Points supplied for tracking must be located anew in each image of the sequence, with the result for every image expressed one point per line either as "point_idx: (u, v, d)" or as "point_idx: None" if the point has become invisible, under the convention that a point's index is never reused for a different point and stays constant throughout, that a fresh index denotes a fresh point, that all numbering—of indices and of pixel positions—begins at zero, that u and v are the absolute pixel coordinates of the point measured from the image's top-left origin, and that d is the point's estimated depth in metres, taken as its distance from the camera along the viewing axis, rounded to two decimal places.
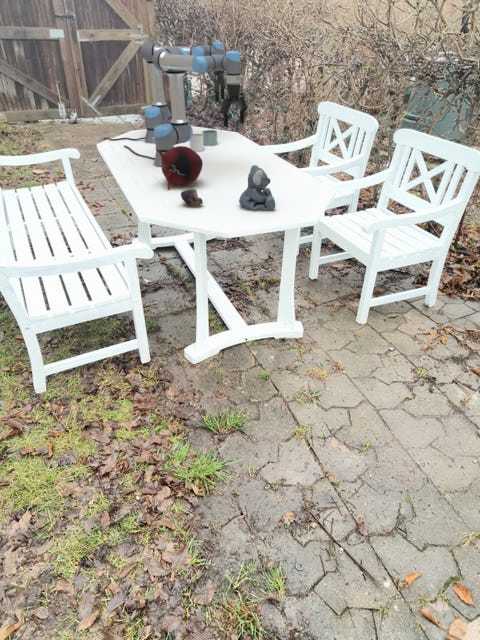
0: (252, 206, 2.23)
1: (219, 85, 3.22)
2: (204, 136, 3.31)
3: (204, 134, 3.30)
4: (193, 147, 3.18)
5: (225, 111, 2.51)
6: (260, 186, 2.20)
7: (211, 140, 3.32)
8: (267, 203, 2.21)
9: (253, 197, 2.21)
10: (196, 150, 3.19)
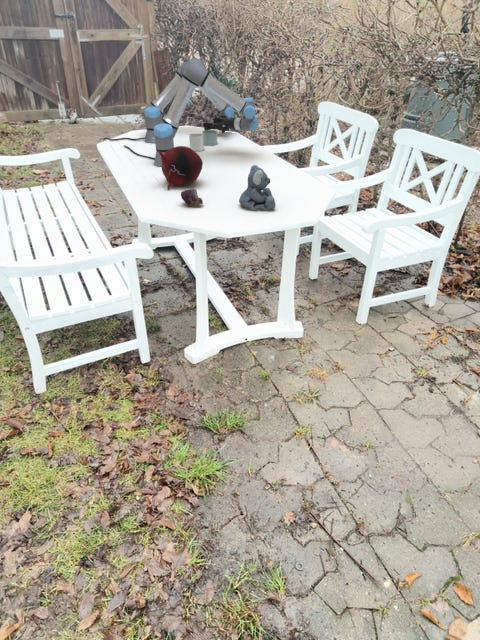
0: (252, 206, 2.23)
1: None
2: (204, 136, 3.31)
3: (204, 134, 3.30)
4: (193, 147, 3.18)
5: None
6: (260, 186, 2.20)
7: (211, 140, 3.32)
8: (267, 203, 2.21)
9: (253, 197, 2.21)
10: (196, 150, 3.19)
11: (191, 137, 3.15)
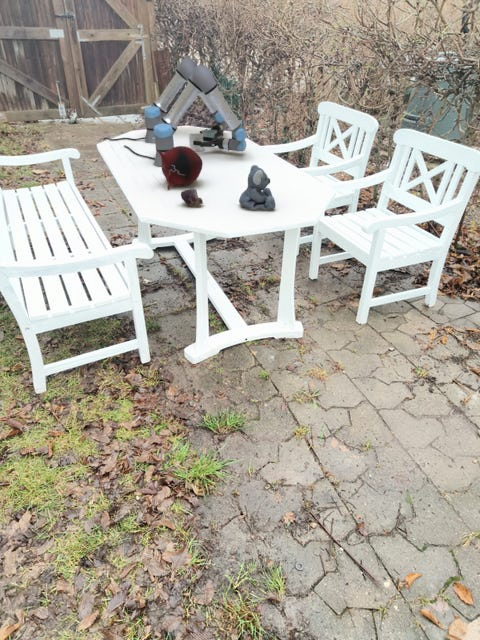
0: (252, 206, 2.23)
1: None
2: (204, 136, 3.31)
3: (204, 134, 3.30)
4: (193, 147, 3.18)
5: None
6: (260, 186, 2.20)
7: None
8: (267, 203, 2.21)
9: (253, 197, 2.21)
10: (196, 150, 3.19)
11: (191, 137, 3.15)
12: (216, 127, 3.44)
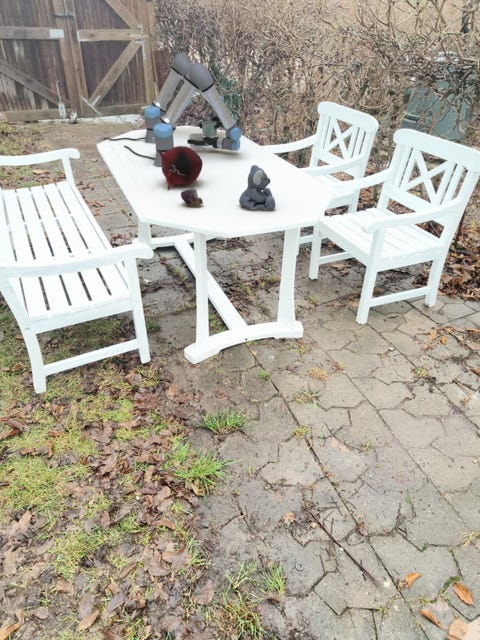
0: (252, 206, 2.23)
1: None
2: (204, 127, 3.28)
3: (204, 125, 3.27)
4: (193, 147, 3.18)
5: None
6: (260, 186, 2.20)
7: (211, 131, 3.28)
8: (267, 203, 2.21)
9: (253, 197, 2.21)
10: (196, 150, 3.19)
11: (191, 137, 3.15)
12: (216, 118, 3.41)
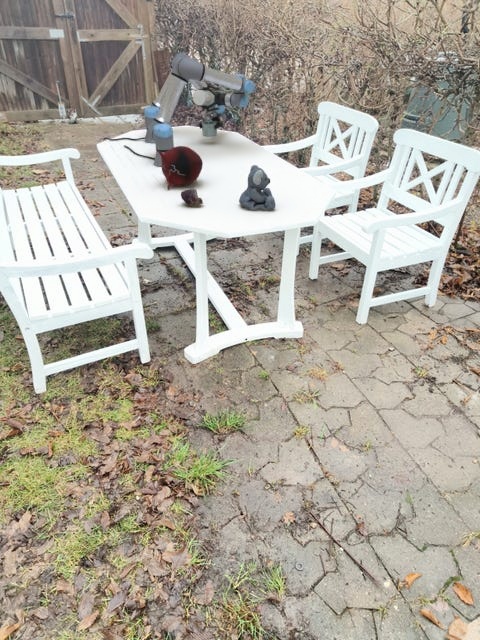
0: (252, 206, 2.23)
1: None
2: (204, 127, 3.28)
3: (204, 125, 3.27)
4: (201, 90, 3.10)
5: None
6: (260, 186, 2.20)
7: (211, 131, 3.28)
8: (267, 203, 2.21)
9: (253, 197, 2.21)
10: (202, 90, 3.08)
11: None
12: (216, 118, 3.41)
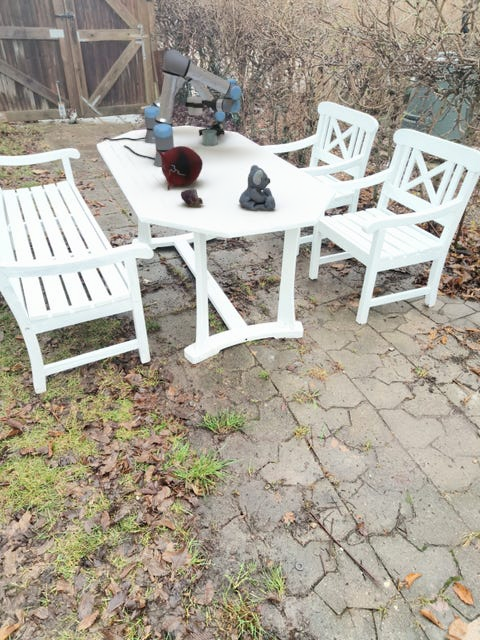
0: (252, 206, 2.23)
1: None
2: (204, 136, 3.31)
3: (204, 134, 3.30)
4: (191, 110, 3.05)
5: None
6: (260, 186, 2.20)
7: (211, 140, 3.32)
8: (267, 203, 2.21)
9: (253, 197, 2.21)
10: (195, 114, 3.06)
11: (189, 100, 3.02)
12: (216, 126, 3.44)
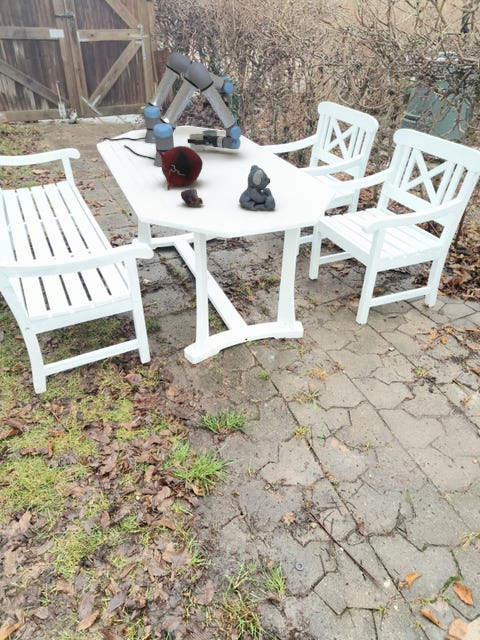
0: (252, 206, 2.23)
1: None
2: None
3: (204, 134, 3.30)
4: (193, 147, 3.18)
5: None
6: (260, 186, 2.20)
7: None
8: (267, 203, 2.21)
9: (253, 197, 2.21)
10: (196, 150, 3.19)
11: (191, 137, 3.15)
12: None
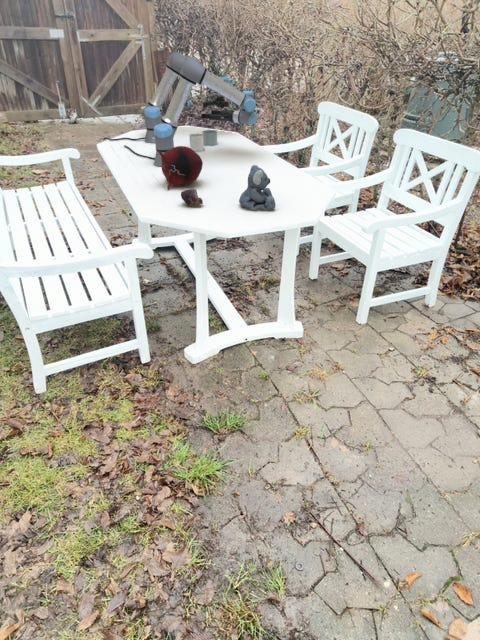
0: (252, 206, 2.23)
1: None
2: (204, 136, 3.31)
3: (204, 134, 3.30)
4: (193, 147, 3.18)
5: None
6: (260, 186, 2.20)
7: (211, 140, 3.32)
8: (267, 203, 2.21)
9: (253, 197, 2.21)
10: (196, 150, 3.19)
11: (191, 137, 3.15)
12: (220, 99, 3.44)
